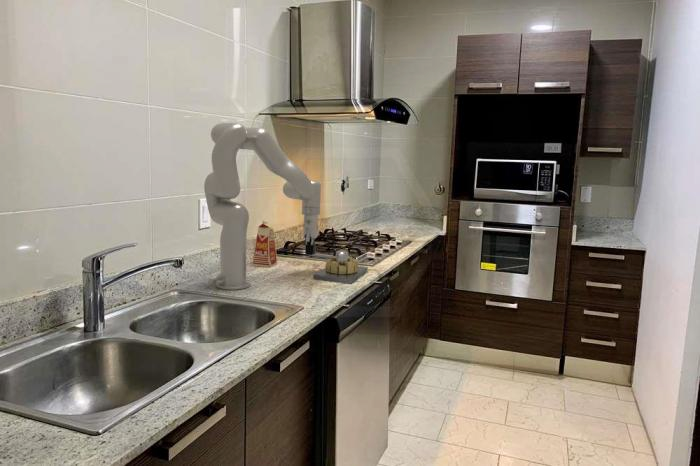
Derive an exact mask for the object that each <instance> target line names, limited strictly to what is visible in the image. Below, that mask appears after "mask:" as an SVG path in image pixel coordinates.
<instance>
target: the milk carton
mask: <svg viewBox="0 0 700 466" xmlns="http://www.w3.org/2000/svg"><path fill="white" fill-rule="evenodd" d="M274 232H275V231H274V228H273V227H272V226H271V225H269V222H268V221H265V220H262V224H260V225H259V226H258V228H257V233H256V236H255V237H256V238H255V246H254V251H253V257H252V262H251V266H252V267H260V268H273V267H274V266H276V265H277V264H278V258H277V255H278V254H277V246H276V239H275V233H274Z"/></svg>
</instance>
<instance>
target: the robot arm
mask: <svg viewBox="0 0 700 466" xmlns="http://www.w3.org/2000/svg"><path fill="white" fill-rule="evenodd" d="M210 137H211V140H212V141H213V142H214V146H213V149H212V151H211V165H212V172H210V173H209V174H208V175H207V176H206V178H205V180H204V185H203V189H204V195H205V200H206V205H207V210H208V214H209V217H210V219H211V220H212V222H214V223H215V224H218V225H220V226H222V229H221V231H220V238H219V239H220V240H219V241H220V242H219V243H220V244H219V245H220V246H219V247H220V248H219V253H220V254H219V255H220V257H219V258H220V259H219V263H220V264H219V265H220V266H219V267H220V273H219V274H217V276H215V277H214V278H209V279H208V284H209V285H213V284H216V285H215V286H216V287H217V289H221V290H227V291H228V290H231V291H232V290H235V291H236V290H243V289H247V288H249V287H251V281H250V280H248V279H247V233H248V227H249V221H250V214H249V211H248V209H247V208H246V206H244V204H241V203H240V202H236V201H232V200H233V199H236V198H238V197H239V195H240V192H241V183H240V177H239V172H238V167H237V156H238V152H239V150H248V151H253V152H255V154H256V155H257V157H258V158H259V159H260V160H261V162H262V163H263V164H264V166H265V167H266V168H267V170H268V171H270V172H271V173H273V174H274V175H276V176H279V177H280V178H282V179H284V180H285V181H286V182H285V183H284V184H283V187H282V193H283V194H284V196H286V197H287V198H289V199H293V200H298V201H301V214H302V215H303V231H302V232H303V233H302V237H303V238H304V239H305V252H304V254H305V255H308V256H309V255H313V253H314V245H313V244H314V241H315V239H316V238H317V237H318V236H319V216H320V215H321V197H322V196H321V195H322V194H321V192H322V184H321V182H320V181H317V180H310V179H309V177H308V175H307V174H306V172H304V170H303V169H301V167H299V166H298V165H297V164H296V163H295V162H293V161H292V160H291V159H290V158H289V157H287V156H286V154H285V152H284V151H283V150H282V149H281V148H280V147H281V146H279V145H278V143H277V142H276V140H275V139H274V137H273V136H272V135H271V133H270V132H269V131H268V130H267V129H266V128H263V127H247V126H244V125H243V124H241V123H238V122H221V123H217V124H215V125H214V126H213V127H212V129H211V131H210Z"/></svg>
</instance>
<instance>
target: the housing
mask: <svg viewBox="0 0 700 466" xmlns="http://www.w3.org/2000/svg"><path fill="white" fill-rule="evenodd" d="M335 256H336V262H340V265H343V266H344V265H345V262H348V257H349V251H346V250H336V252H335ZM368 269H369V267H367V266H361V265H360V266H359V265H358V272H356V273H352V274H339V273H338V274H335V273H330V272H327V271H326V267H324V268H322V270H319V271H317V272H314V273H313V274H312V275H313V278H312V279H313V280H317V281H324V282H332V283H340V284H346V285H347V284H348V285H352V284H353V283H354V282H356V281H357V280H359V279H360V278H361V277H363V276H364V275H365V274H367V273H368V271H369V270H368Z"/></svg>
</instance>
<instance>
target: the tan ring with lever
mask: <svg viewBox="0 0 700 466" xmlns="http://www.w3.org/2000/svg"><path fill="white" fill-rule="evenodd" d="M313 245H314V253H313V255H308V256H309V257H317V258H324V259H325V268H326V271H327V272H330V273H335V274H338V273H339V274H352V273H356V272H358V266H359V259H356V258H355V259H353V257H352V256H348V262H345V265H344V266H343V265H340V262H336V255H335V256H334V255H332V254H325V253H317V252H316V249H317V248H316V242H314V244H313Z"/></svg>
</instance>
